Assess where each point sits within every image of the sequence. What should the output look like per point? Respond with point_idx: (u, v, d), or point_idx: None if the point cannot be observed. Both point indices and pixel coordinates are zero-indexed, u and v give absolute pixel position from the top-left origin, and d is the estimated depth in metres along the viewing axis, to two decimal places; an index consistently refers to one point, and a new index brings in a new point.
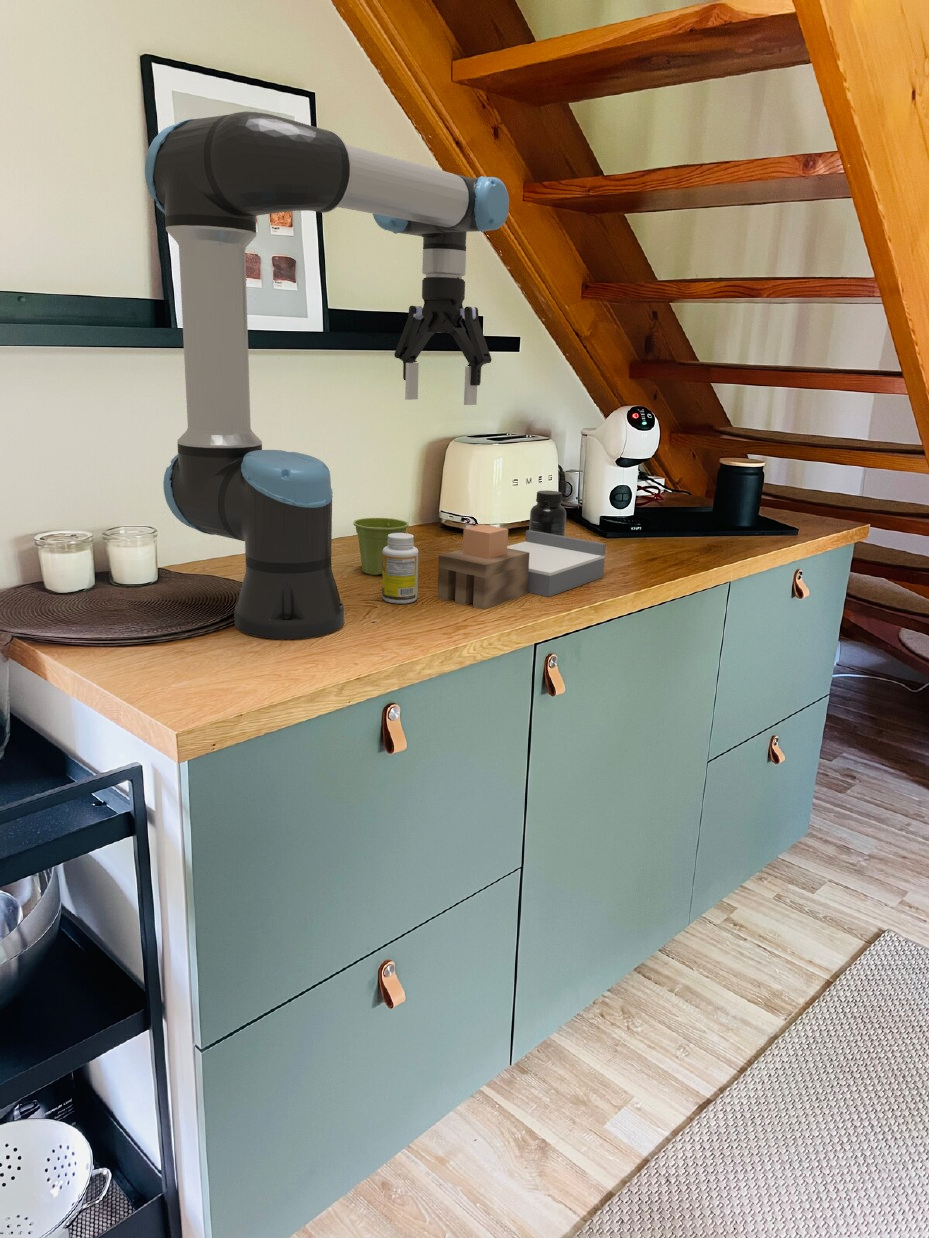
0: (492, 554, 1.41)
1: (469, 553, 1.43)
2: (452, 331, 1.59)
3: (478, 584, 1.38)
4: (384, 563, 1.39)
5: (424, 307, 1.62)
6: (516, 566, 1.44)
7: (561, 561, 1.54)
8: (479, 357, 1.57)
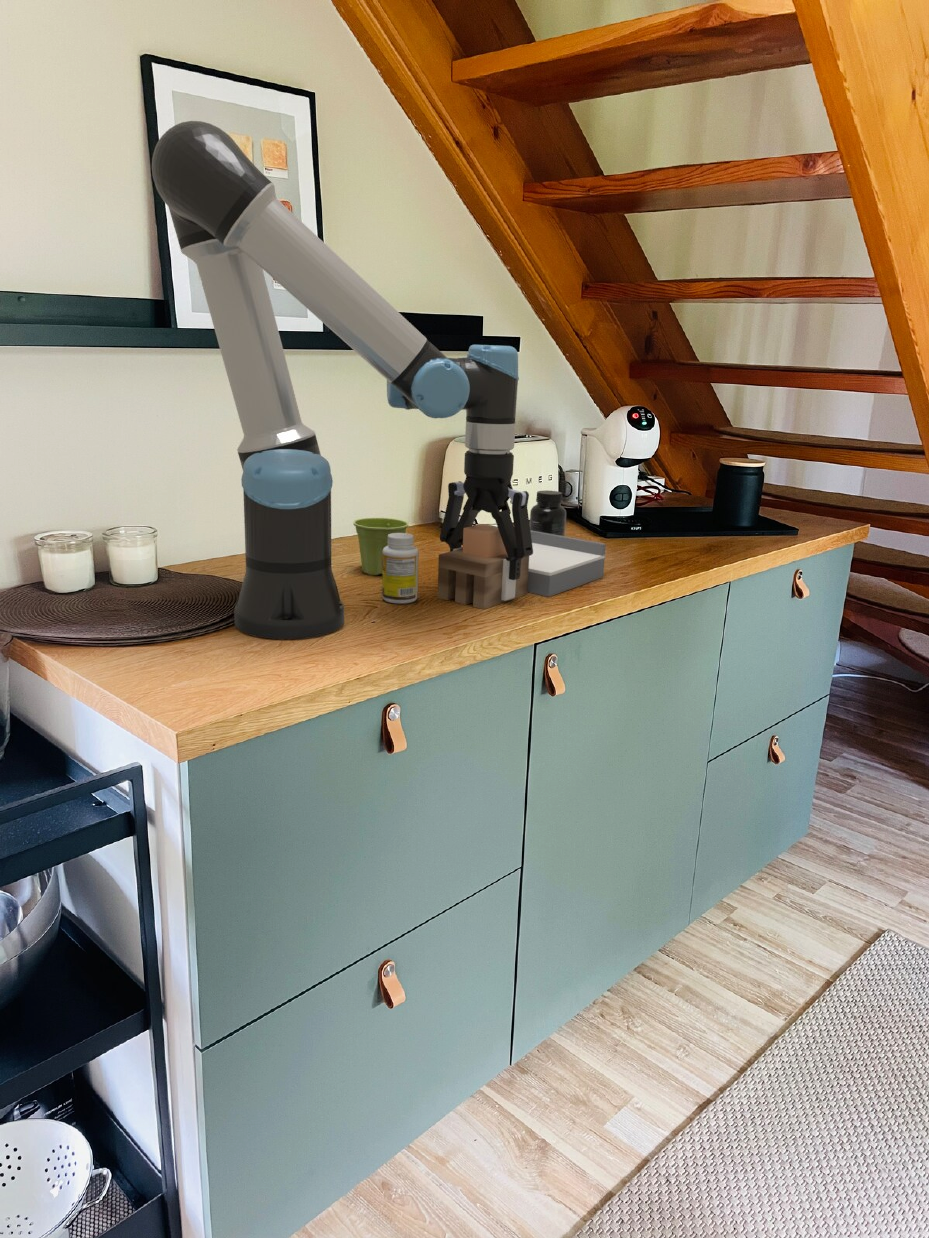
0: (492, 554, 1.41)
1: (469, 552, 1.43)
2: (496, 515, 1.39)
3: (478, 583, 1.38)
4: (384, 563, 1.39)
5: (465, 482, 1.42)
6: None
7: (561, 561, 1.54)
8: (520, 551, 1.38)
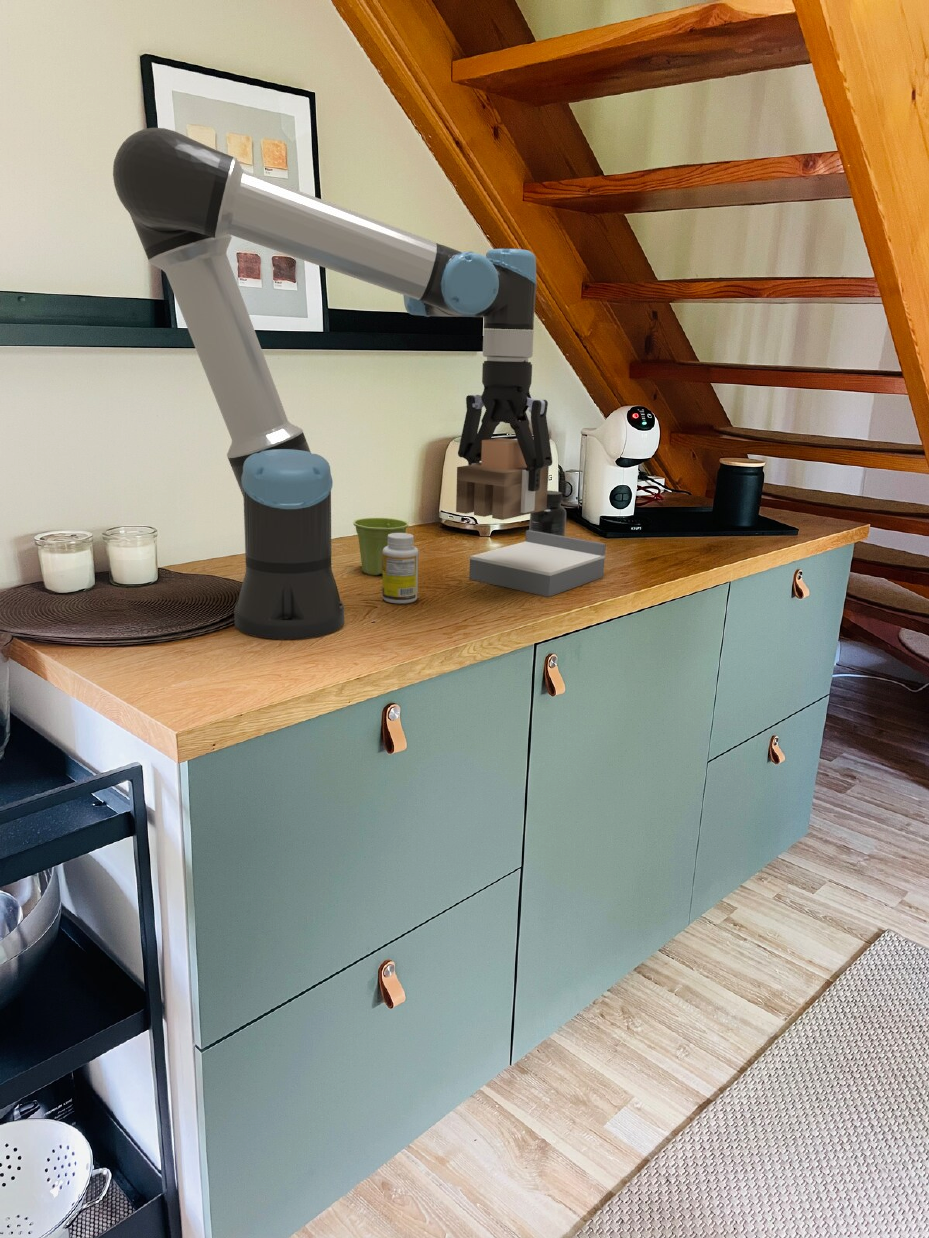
0: (511, 465, 1.40)
1: (487, 465, 1.41)
2: (514, 425, 1.38)
3: (497, 494, 1.37)
4: (384, 563, 1.39)
5: (483, 393, 1.41)
6: None
7: (561, 561, 1.54)
8: (539, 460, 1.37)
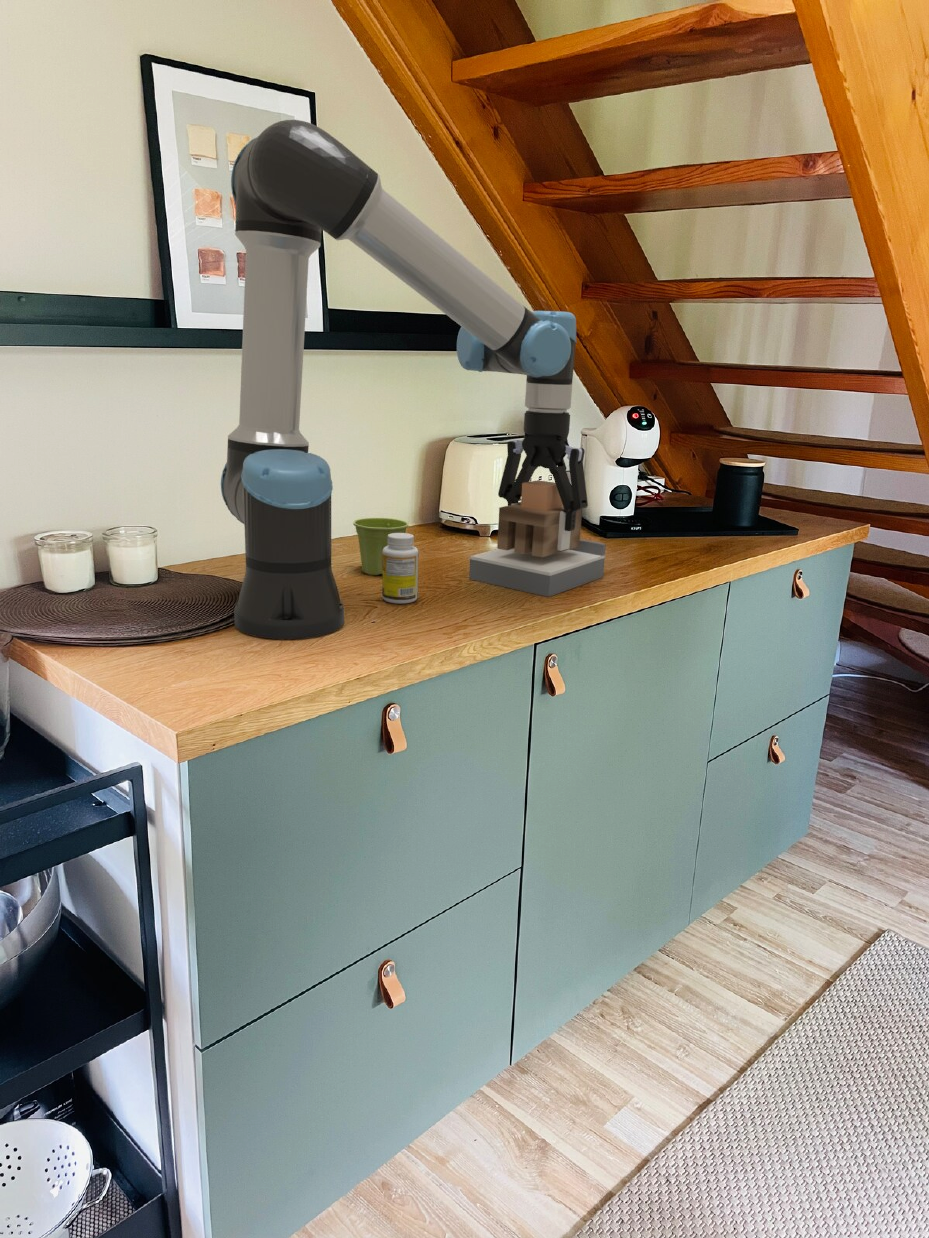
0: (549, 507, 1.52)
1: (527, 506, 1.53)
2: (553, 470, 1.50)
3: (537, 533, 1.49)
4: (384, 563, 1.39)
5: (524, 440, 1.53)
6: None
7: (561, 561, 1.54)
8: (576, 503, 1.49)
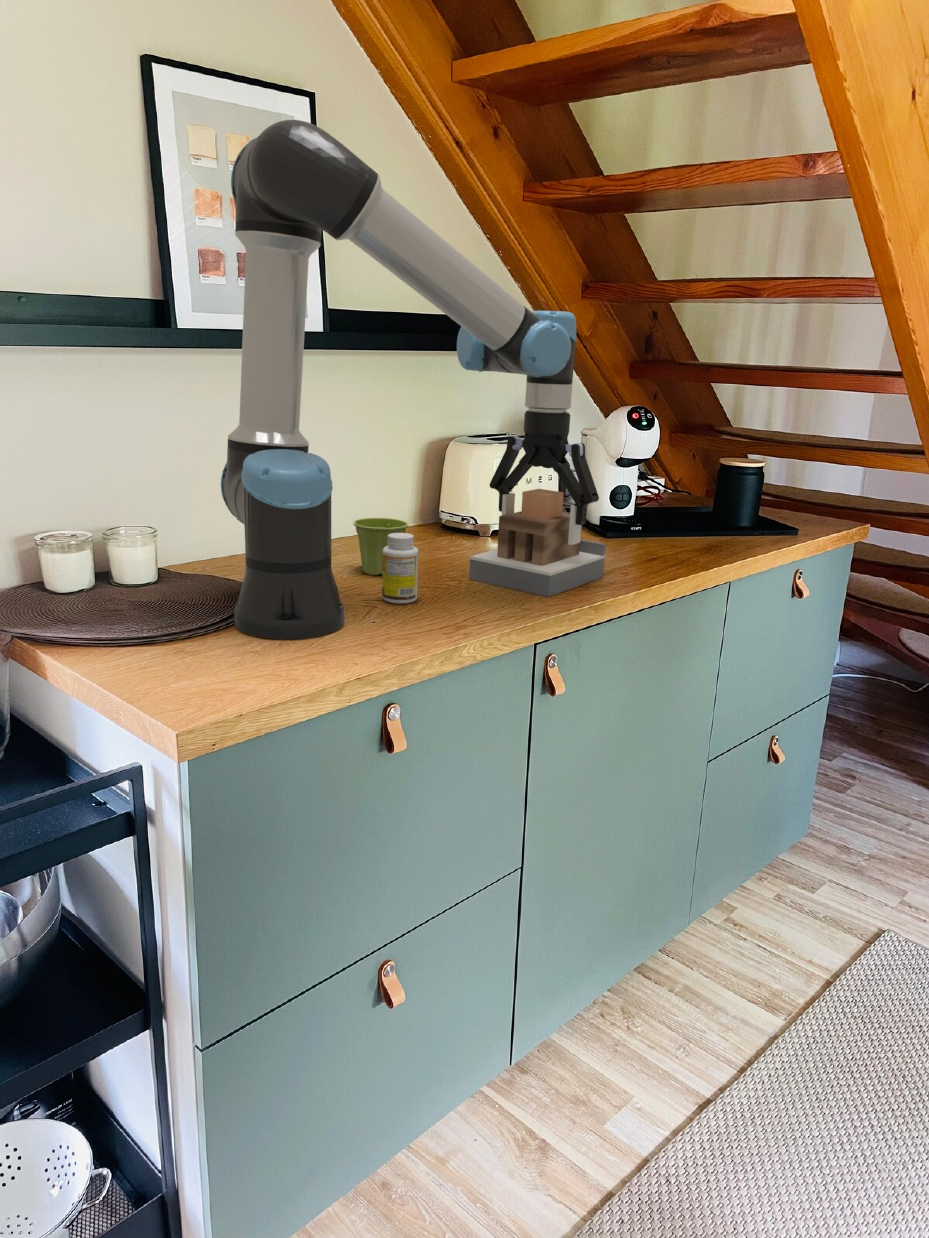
0: (549, 515, 1.52)
1: (527, 514, 1.54)
2: (557, 467, 1.49)
3: (537, 542, 1.50)
4: (384, 563, 1.39)
5: (525, 439, 1.53)
6: None
7: (561, 561, 1.54)
8: (587, 497, 1.48)
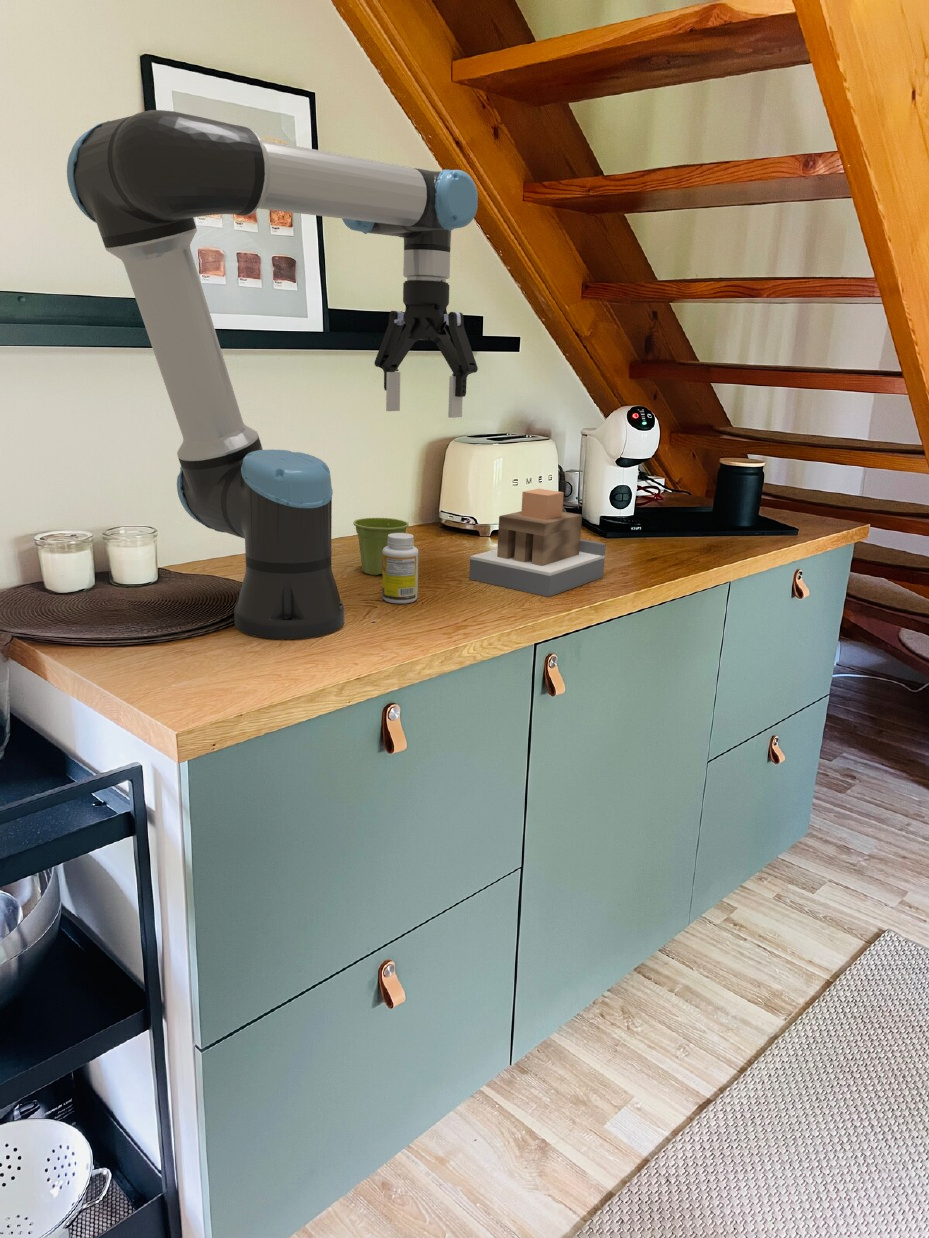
0: (549, 515, 1.52)
1: (527, 514, 1.54)
2: (435, 338, 1.47)
3: (537, 542, 1.50)
4: (384, 563, 1.39)
5: (406, 312, 1.51)
6: (570, 527, 1.55)
7: (561, 561, 1.54)
8: (464, 366, 1.46)
